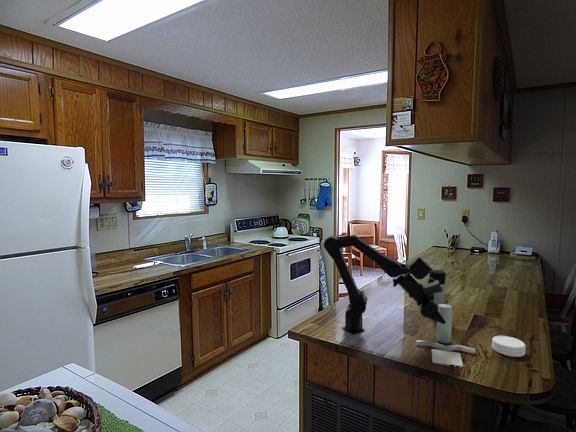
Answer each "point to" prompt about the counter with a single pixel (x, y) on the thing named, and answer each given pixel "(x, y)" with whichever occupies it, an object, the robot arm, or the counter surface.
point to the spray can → (440, 277)
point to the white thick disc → (508, 346)
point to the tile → (446, 358)
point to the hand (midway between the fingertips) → (442, 318)
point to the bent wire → (445, 348)
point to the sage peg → (444, 329)
